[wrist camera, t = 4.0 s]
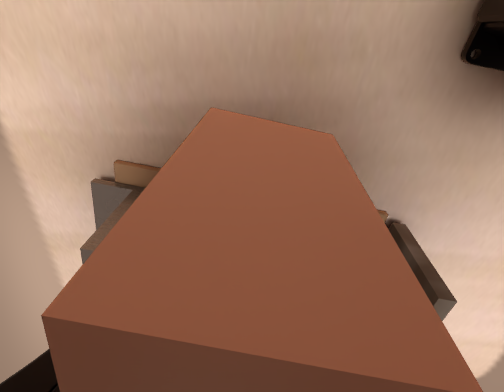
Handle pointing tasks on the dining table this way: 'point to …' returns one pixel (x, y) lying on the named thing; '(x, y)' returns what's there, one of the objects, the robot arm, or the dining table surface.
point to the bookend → (108, 209)
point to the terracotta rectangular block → (251, 280)
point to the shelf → (400, 232)
